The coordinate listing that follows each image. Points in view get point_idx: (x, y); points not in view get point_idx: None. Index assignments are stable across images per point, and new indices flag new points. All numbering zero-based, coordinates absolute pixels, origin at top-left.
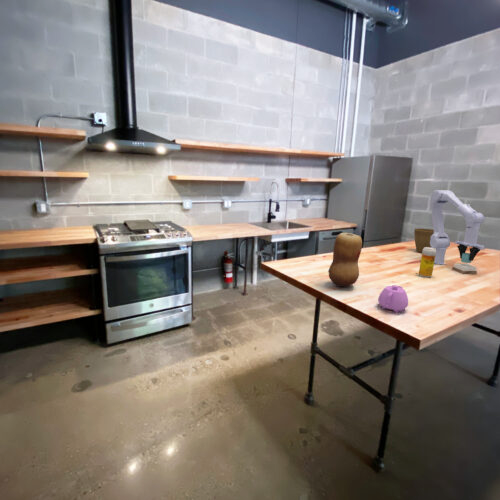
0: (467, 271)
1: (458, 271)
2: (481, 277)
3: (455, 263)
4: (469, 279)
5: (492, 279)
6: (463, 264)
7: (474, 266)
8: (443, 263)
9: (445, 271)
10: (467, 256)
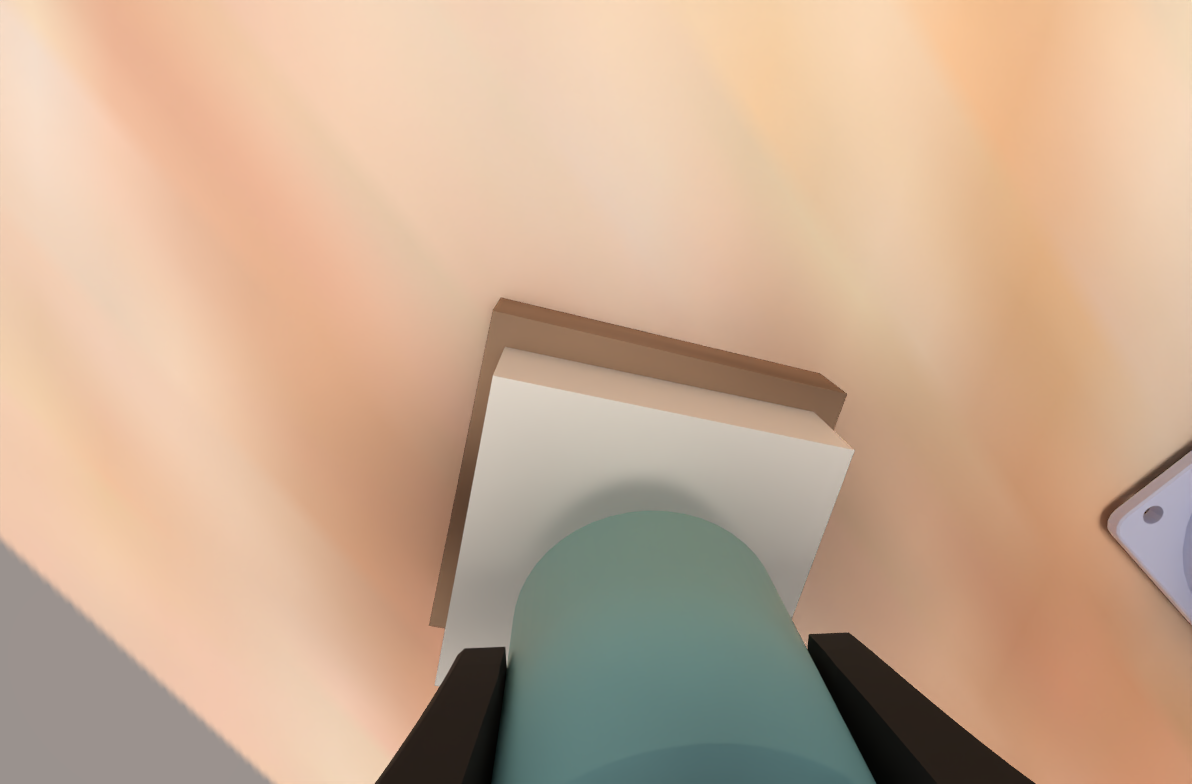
0: (472, 425)
1: (624, 331)
2: (234, 486)
3: (845, 466)
4: (108, 55)
5: (100, 575)
6: None
7: None
8: (1161, 548)
9: (767, 60)
10: (551, 717)
